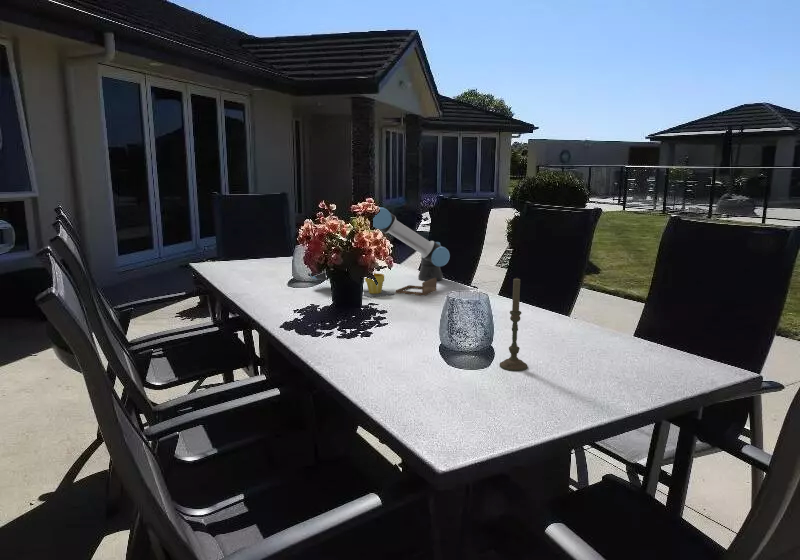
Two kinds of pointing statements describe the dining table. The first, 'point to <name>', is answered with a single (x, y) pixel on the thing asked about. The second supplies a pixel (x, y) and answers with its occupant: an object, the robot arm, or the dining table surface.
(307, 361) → the dining table surface
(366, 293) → the mat
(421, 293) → the dock
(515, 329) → the candlestick holder
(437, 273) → the robot arm
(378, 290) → the plant pot
